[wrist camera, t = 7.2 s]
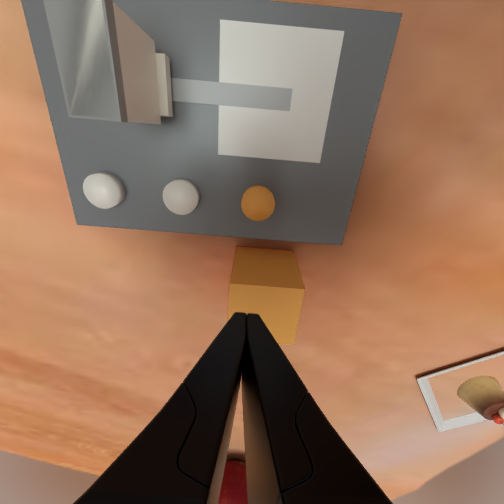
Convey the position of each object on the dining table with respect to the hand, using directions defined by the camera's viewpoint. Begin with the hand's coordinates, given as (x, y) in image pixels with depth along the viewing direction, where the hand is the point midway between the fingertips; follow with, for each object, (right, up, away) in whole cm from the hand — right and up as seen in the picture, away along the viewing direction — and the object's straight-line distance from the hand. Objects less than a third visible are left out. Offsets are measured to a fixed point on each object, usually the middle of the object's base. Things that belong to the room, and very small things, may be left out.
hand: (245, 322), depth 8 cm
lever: (-6, +12, +6) cm, 15 cm away
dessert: (+27, -13, +21) cm, 37 cm away
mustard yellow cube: (+1, +1, +14) cm, 14 cm away
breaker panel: (-3, +11, +9) cm, 14 cm away
